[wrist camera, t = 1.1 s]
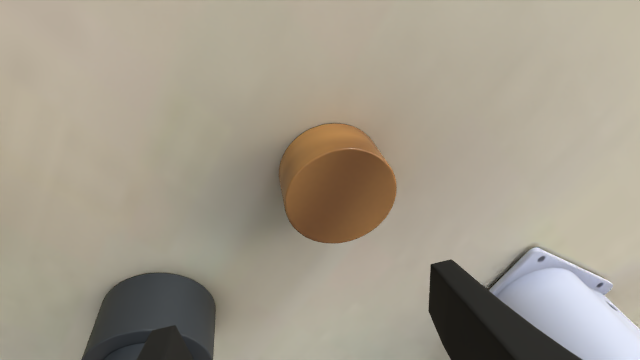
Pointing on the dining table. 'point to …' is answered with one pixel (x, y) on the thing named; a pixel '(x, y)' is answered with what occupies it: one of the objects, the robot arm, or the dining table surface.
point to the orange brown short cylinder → (335, 184)
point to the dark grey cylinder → (152, 317)
